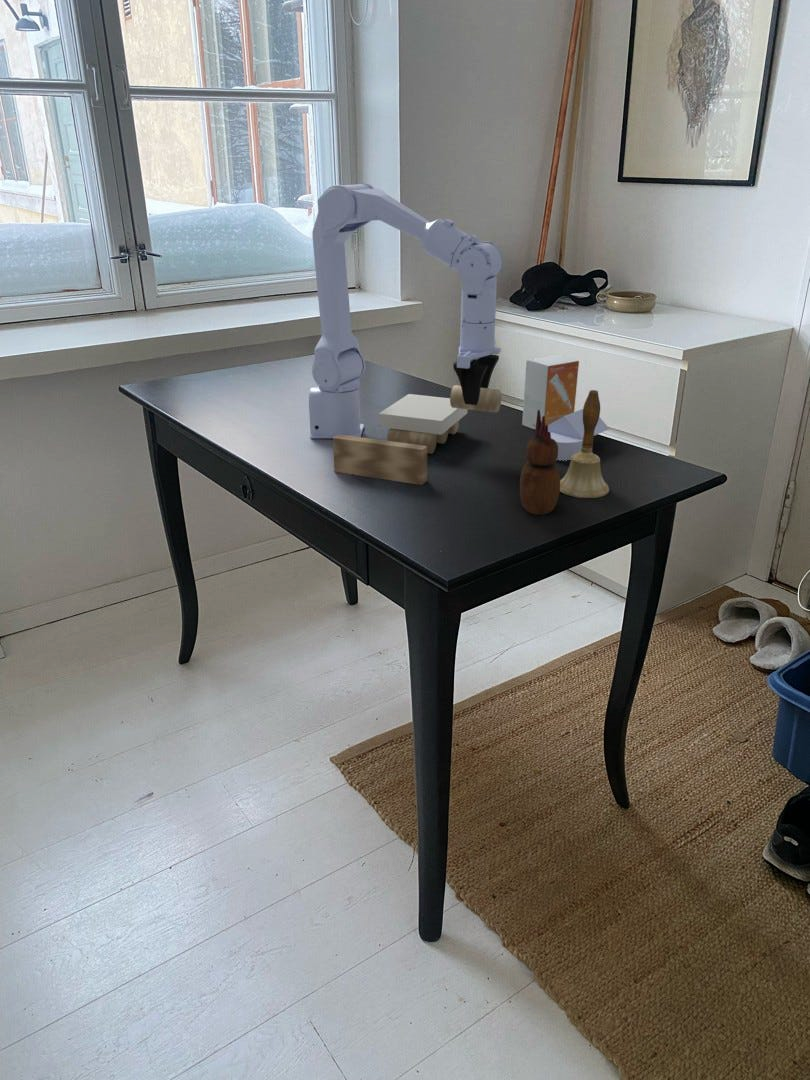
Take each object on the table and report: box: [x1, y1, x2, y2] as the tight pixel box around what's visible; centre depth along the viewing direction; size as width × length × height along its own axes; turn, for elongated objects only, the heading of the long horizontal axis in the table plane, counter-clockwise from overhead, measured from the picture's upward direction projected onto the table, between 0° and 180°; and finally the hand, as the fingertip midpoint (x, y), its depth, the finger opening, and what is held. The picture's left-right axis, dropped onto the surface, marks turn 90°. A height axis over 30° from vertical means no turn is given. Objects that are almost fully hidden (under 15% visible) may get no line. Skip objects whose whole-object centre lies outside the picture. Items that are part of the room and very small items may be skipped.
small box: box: [521, 354, 580, 430], centre depth 158 cm, size 8×6×13 cm
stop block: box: [332, 434, 428, 486], centre depth 135 cm, size 16×2×6 cm, turn 67°
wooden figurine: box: [519, 410, 561, 516], centre depth 120 cm, size 7×6×15 cm
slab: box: [378, 393, 468, 435], centre depth 150 cm, size 12×14×2 cm
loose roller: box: [449, 384, 502, 413], centre depth 141 cm, size 8×4×4 cm, turn 67°
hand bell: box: [559, 389, 610, 499], centre depth 127 cm, size 8×8×16 cm
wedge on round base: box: [548, 408, 610, 462], centre depth 146 cm, size 9×7×13 cm
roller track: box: [386, 420, 460, 454], centre depth 148 cm, size 8×25×4 cm, turn 157°
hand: (475, 400), depth 141 cm, fingers closed on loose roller, 4 cm apart
